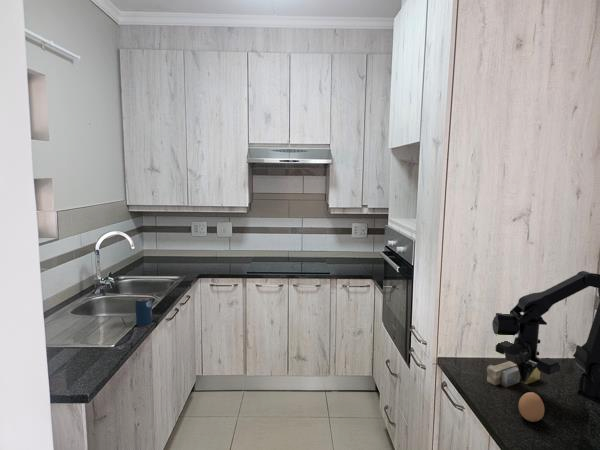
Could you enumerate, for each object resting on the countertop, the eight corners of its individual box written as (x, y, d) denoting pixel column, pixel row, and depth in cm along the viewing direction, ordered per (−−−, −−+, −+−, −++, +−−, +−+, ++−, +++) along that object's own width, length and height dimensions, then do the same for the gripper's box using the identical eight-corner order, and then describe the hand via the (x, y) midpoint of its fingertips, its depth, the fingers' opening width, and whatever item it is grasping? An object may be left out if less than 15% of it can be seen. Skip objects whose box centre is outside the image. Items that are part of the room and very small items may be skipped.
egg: (520, 424, 114) (523, 397, 113) (515, 411, 120) (517, 385, 119) (546, 428, 112) (549, 401, 111) (539, 415, 119) (541, 389, 118)
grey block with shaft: (519, 382, 138) (520, 369, 137) (506, 387, 134) (507, 374, 134) (495, 370, 145) (496, 358, 145) (482, 375, 142) (483, 362, 142)
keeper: (539, 379, 140) (540, 365, 139) (526, 384, 136) (528, 370, 136) (536, 377, 141) (537, 364, 140) (523, 382, 137) (524, 368, 137)
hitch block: (517, 377, 141) (518, 364, 140) (494, 385, 135) (495, 371, 135) (509, 373, 144) (510, 360, 143) (486, 381, 138) (488, 367, 137)
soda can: (155, 324, 184) (154, 298, 183) (141, 328, 179) (140, 302, 177) (147, 320, 188) (146, 295, 187) (133, 324, 183) (132, 298, 182)
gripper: (486, 330, 135) (482, 374, 137) (540, 352, 119) (536, 401, 121) (507, 324, 140) (504, 367, 142) (563, 345, 124) (558, 392, 126)
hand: (524, 381), depth 133 cm, fingers closed
